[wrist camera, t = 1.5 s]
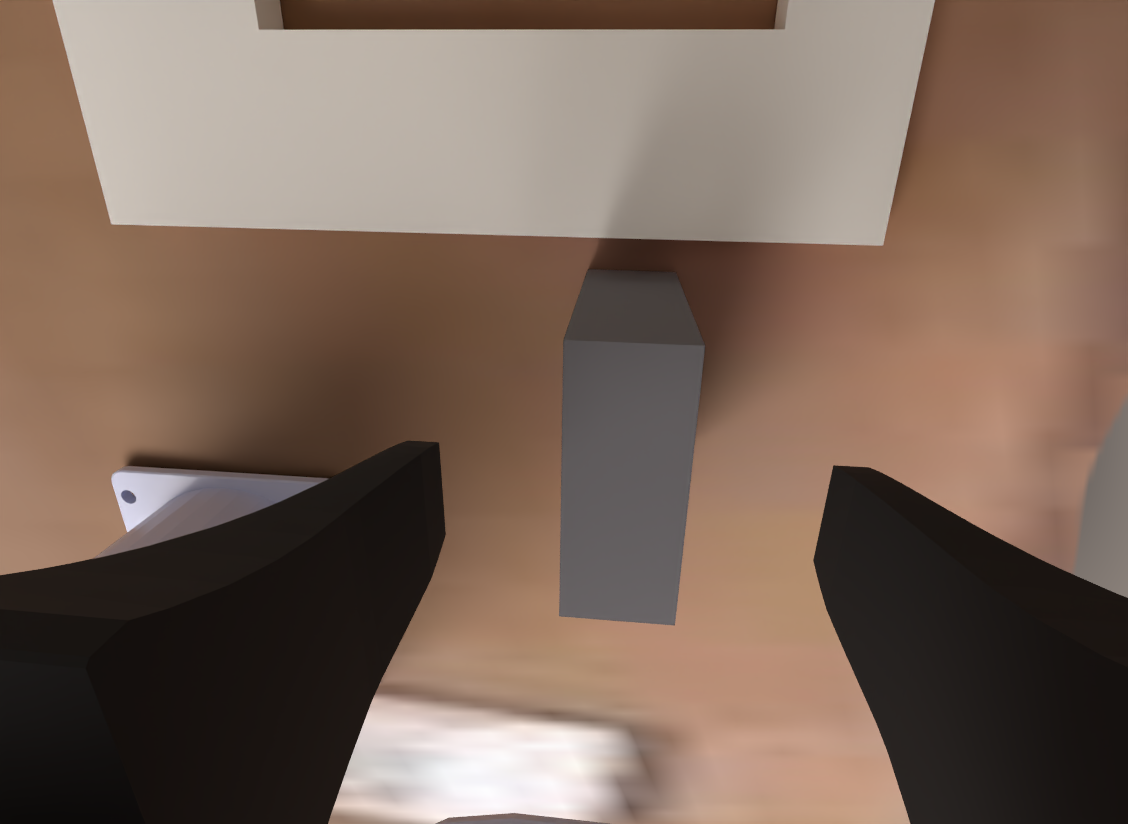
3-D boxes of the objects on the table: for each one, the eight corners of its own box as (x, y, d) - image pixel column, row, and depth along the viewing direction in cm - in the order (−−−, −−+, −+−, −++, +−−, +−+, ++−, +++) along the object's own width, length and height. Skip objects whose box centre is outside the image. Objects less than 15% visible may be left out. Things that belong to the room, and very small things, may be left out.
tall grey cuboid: (659, 466, 19) (674, 625, 13) (582, 462, 19) (559, 616, 13) (675, 272, 17) (705, 345, 10) (587, 269, 17) (563, 339, 11)
